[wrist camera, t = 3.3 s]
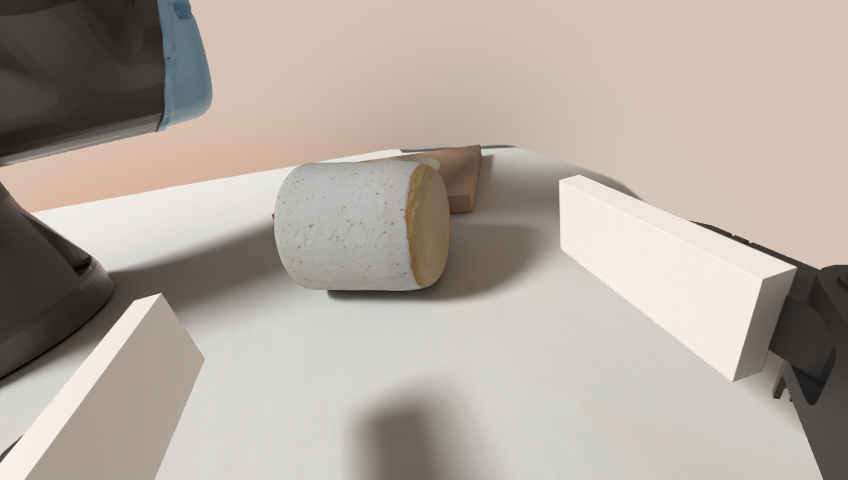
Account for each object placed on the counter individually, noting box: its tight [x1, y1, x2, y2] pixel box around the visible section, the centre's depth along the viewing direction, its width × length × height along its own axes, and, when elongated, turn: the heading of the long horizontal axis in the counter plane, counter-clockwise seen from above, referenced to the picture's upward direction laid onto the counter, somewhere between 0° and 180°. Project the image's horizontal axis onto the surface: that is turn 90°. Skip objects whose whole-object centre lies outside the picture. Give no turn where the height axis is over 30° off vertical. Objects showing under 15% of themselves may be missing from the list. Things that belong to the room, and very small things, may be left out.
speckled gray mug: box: [274, 161, 450, 291], centre depth 22 cm, size 11×8×8 cm
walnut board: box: [272, 145, 482, 219], centre depth 37 cm, size 18×14×2 cm
